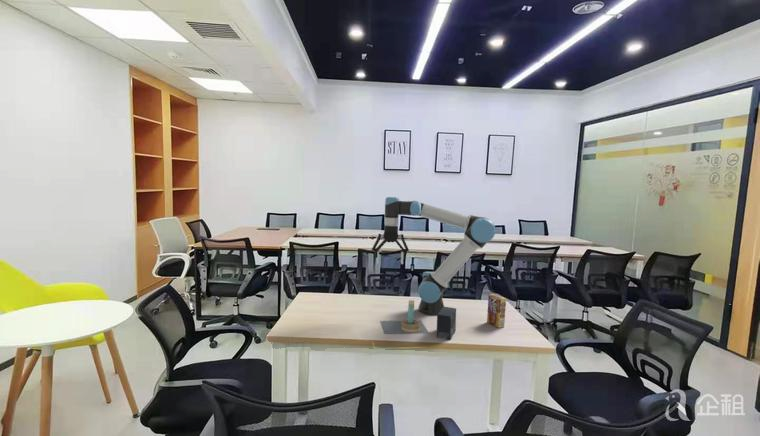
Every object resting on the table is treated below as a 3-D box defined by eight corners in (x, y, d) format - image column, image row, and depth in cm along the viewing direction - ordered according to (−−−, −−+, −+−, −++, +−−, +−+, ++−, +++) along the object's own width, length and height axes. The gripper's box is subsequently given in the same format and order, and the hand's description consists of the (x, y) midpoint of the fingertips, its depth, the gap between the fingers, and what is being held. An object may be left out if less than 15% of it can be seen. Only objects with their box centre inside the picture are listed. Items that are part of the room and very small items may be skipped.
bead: (417, 325, 179) (417, 319, 179) (421, 332, 170) (422, 326, 170) (399, 325, 178) (400, 319, 178) (403, 332, 169) (403, 326, 169)
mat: (420, 321, 186) (420, 320, 186) (429, 334, 169) (429, 333, 169) (379, 322, 183) (379, 320, 183) (384, 335, 167) (384, 334, 166)
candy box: (505, 327, 182) (506, 298, 181) (498, 328, 180) (500, 299, 179) (492, 321, 190) (494, 293, 189) (486, 322, 188) (488, 294, 187)
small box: (442, 329, 177) (443, 305, 176) (455, 331, 174) (456, 308, 173) (435, 338, 165) (437, 313, 164) (450, 341, 162) (451, 316, 161)
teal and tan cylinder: (412, 327, 176) (413, 300, 175) (413, 329, 173) (414, 302, 172) (407, 327, 175) (408, 300, 174) (408, 329, 173) (409, 302, 172)
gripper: (412, 225, 197) (410, 262, 198) (367, 224, 193) (366, 262, 195) (415, 226, 189) (413, 265, 191) (369, 225, 186) (367, 264, 188)
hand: (389, 263), depth 193 cm, fingers open, 13 cm apart
